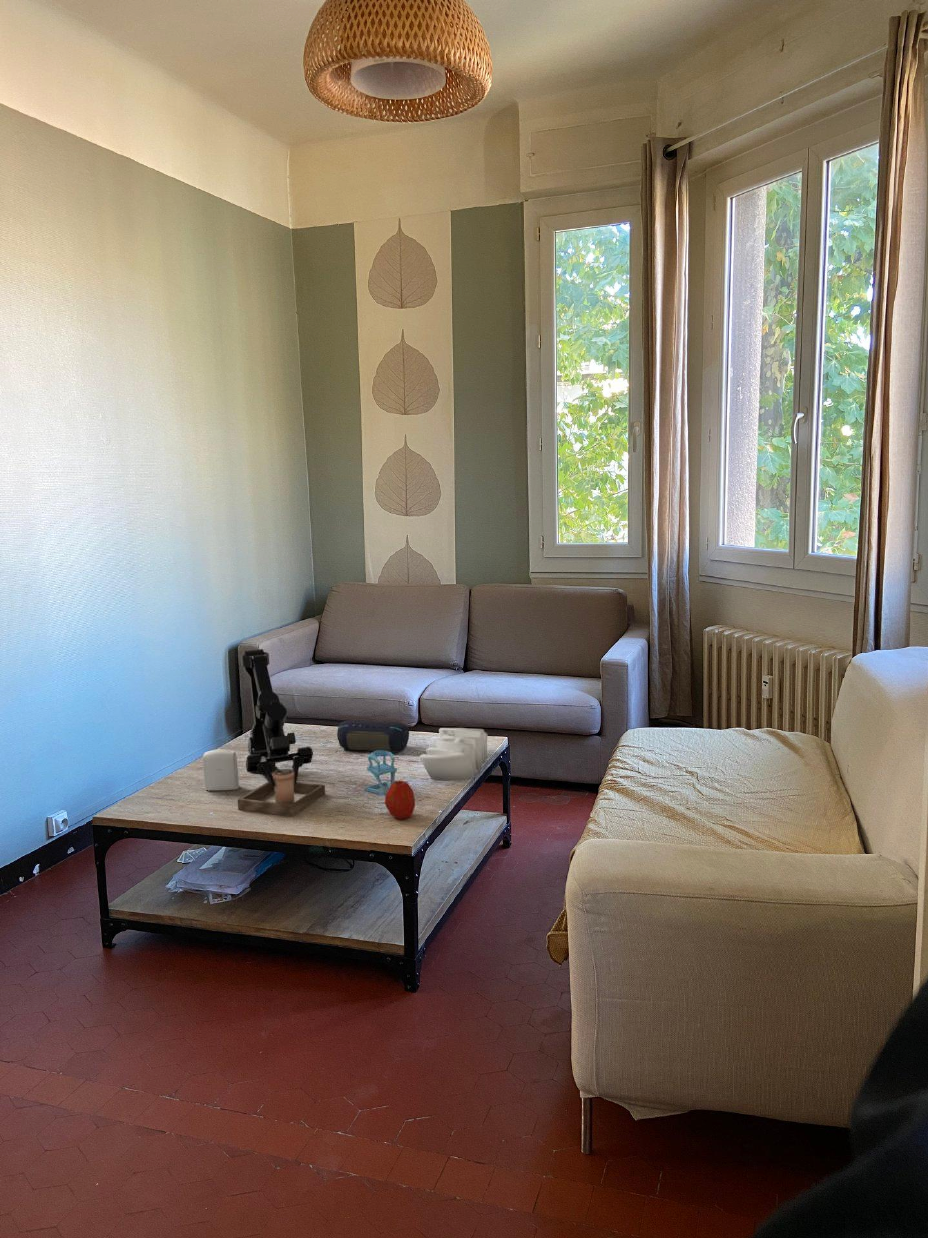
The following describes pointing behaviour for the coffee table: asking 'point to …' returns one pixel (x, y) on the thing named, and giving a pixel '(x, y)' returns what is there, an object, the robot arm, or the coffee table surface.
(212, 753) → the photo printer
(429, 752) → the white wavy slab sculpture
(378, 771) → the chair
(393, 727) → the portable speaker
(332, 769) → the coffee table surface
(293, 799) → the terracotta pot
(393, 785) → the apple
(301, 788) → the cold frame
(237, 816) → the coffee table surface
